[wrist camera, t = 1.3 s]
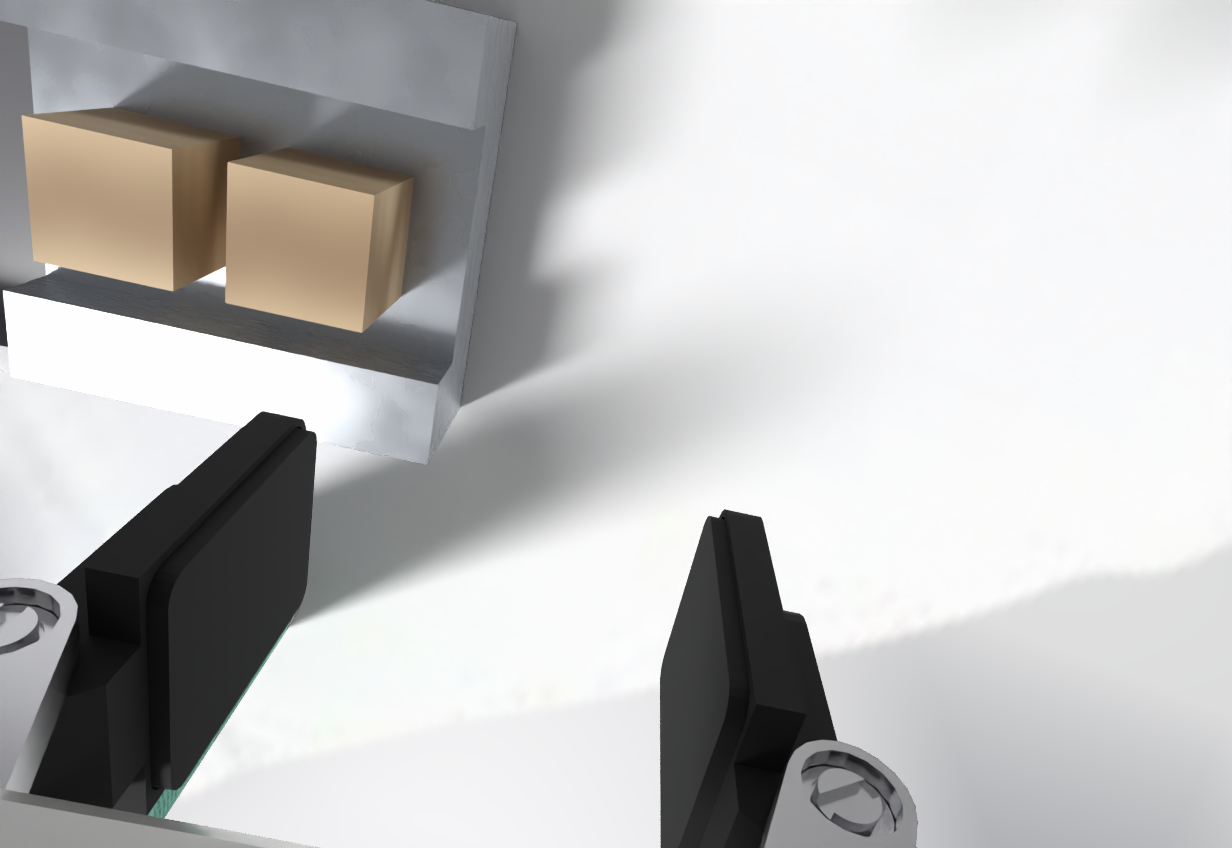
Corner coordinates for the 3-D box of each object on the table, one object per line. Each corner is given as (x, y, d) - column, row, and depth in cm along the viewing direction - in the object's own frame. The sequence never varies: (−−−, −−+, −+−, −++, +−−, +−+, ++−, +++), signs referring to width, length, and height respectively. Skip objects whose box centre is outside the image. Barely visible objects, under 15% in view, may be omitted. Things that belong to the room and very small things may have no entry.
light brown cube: (288, 147, 26) (227, 161, 22) (414, 176, 26) (374, 195, 22) (283, 270, 27) (225, 302, 24) (401, 296, 27) (361, 332, 24)
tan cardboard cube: (112, 107, 25) (21, 115, 22) (241, 136, 26) (171, 149, 22) (117, 233, 27) (33, 260, 23) (238, 260, 27) (172, 291, 23)
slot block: (85, -81, 26) (-37, -110, 21) (516, 22, 27) (488, 15, 22) (104, 331, 32) (11, 376, 27) (459, 407, 32) (427, 465, 28)
